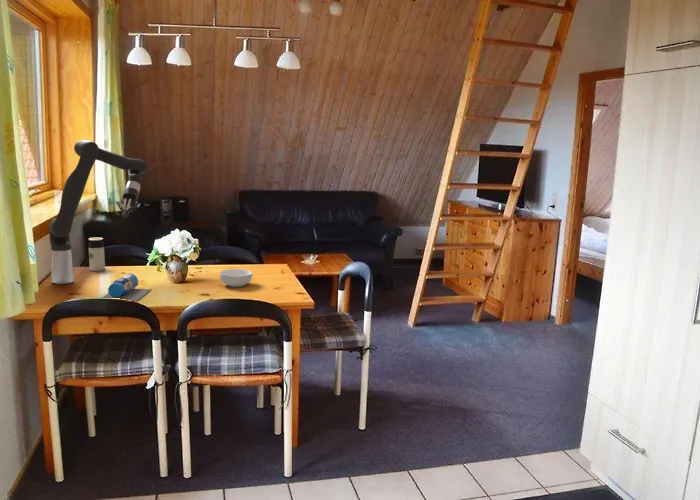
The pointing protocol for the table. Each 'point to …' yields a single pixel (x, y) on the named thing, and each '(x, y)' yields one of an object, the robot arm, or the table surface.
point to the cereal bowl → (236, 277)
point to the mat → (132, 294)
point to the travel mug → (96, 254)
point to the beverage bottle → (123, 285)
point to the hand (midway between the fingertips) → (124, 217)
